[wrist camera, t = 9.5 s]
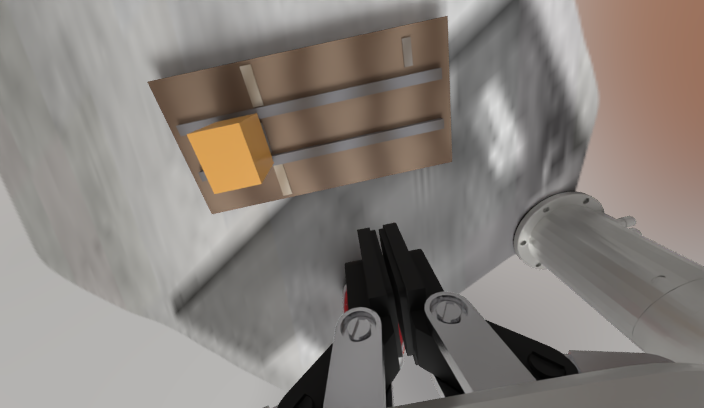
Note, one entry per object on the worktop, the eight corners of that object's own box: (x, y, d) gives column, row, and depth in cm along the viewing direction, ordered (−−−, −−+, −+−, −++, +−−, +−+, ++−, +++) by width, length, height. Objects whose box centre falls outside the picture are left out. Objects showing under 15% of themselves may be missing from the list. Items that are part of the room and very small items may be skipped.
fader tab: (258, 112, 26) (238, 122, 20) (275, 160, 28) (261, 183, 22) (218, 120, 26) (186, 134, 20) (238, 168, 28) (214, 194, 22)
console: (437, 20, 27) (450, 14, 24) (443, 155, 33) (454, 163, 30) (162, 81, 27) (142, 82, 24) (219, 204, 33) (209, 217, 30)
